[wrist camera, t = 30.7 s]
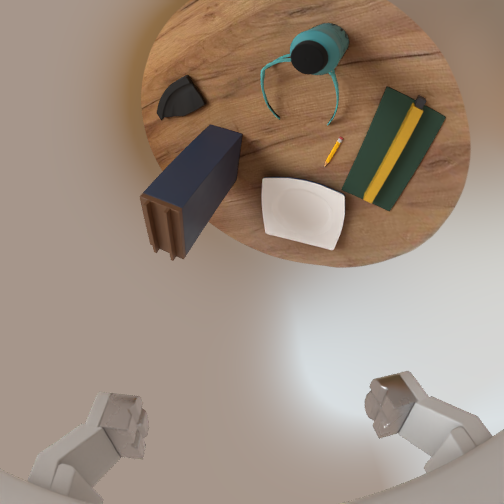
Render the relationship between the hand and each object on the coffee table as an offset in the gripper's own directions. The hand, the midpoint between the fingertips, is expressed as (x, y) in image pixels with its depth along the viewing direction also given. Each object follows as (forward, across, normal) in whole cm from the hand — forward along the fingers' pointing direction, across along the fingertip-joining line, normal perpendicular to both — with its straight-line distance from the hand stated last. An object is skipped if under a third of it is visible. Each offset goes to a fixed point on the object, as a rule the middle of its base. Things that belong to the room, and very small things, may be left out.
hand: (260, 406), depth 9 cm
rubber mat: (+44, -31, -9) cm, 55 cm away
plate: (+62, -18, +6) cm, 65 cm away
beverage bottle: (+39, -17, -29) cm, 52 cm away
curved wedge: (+61, +11, -21) cm, 65 cm away
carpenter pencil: (+44, -31, -9) cm, 54 cm away
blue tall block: (+64, +1, -8) cm, 65 cm away
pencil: (+51, -21, -9) cm, 56 cm away
